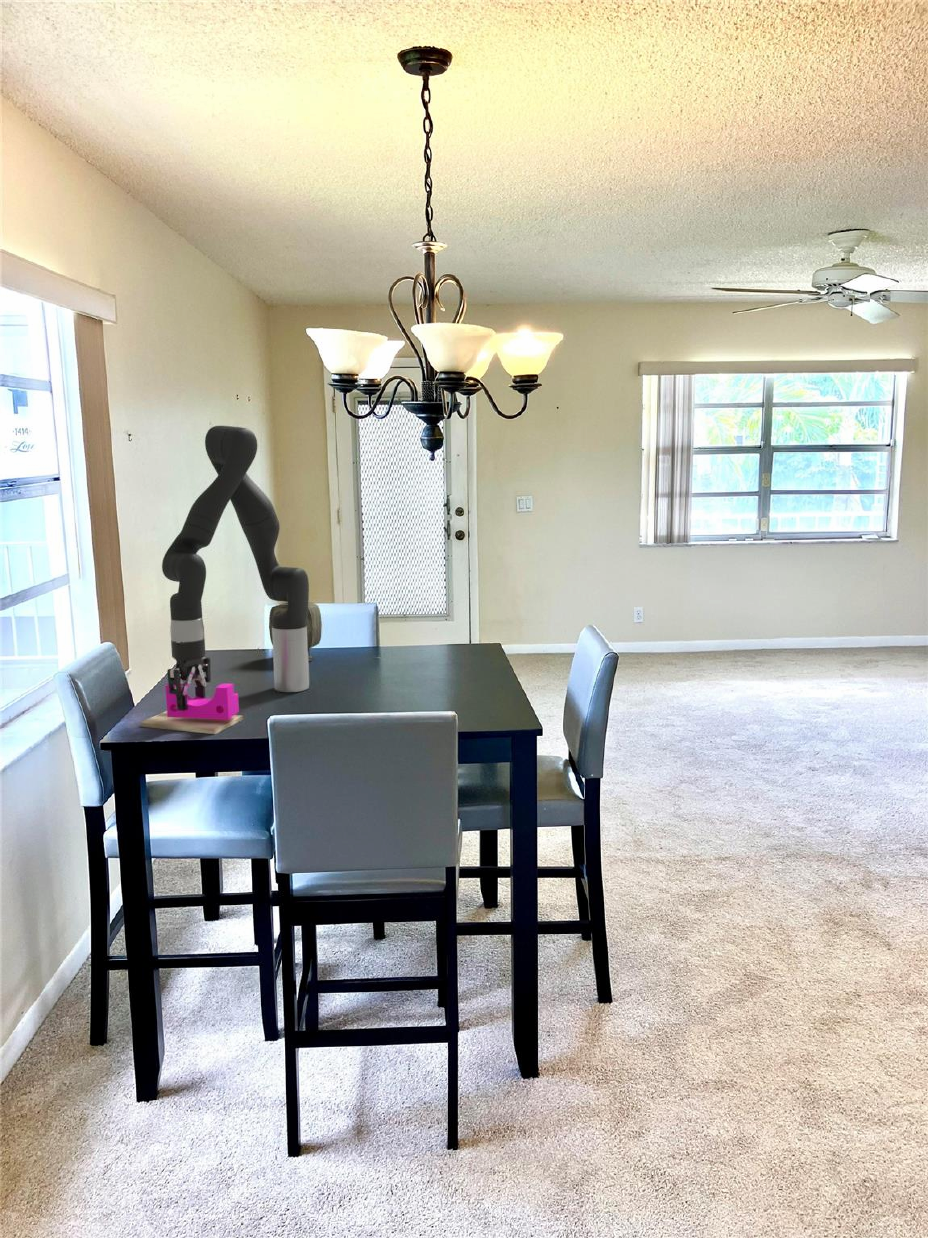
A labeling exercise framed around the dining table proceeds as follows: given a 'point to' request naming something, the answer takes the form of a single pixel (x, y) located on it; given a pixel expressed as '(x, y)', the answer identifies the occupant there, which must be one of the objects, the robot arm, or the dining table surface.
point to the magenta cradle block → (206, 704)
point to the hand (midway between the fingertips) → (191, 706)
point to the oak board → (190, 723)
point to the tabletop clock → (312, 624)
